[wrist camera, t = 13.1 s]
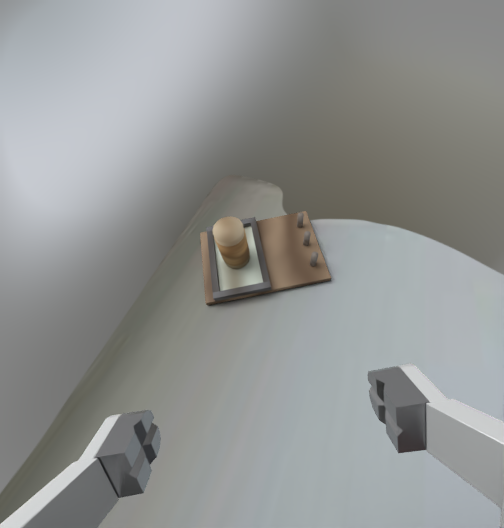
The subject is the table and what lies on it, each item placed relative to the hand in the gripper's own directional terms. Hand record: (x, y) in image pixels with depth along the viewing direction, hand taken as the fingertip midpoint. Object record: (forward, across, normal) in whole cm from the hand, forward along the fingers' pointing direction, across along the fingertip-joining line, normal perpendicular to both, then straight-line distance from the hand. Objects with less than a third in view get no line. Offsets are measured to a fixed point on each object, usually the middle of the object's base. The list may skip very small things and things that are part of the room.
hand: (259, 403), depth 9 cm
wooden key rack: (+34, -1, +3) cm, 34 cm away
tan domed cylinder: (+32, +3, +2) cm, 33 cm away
